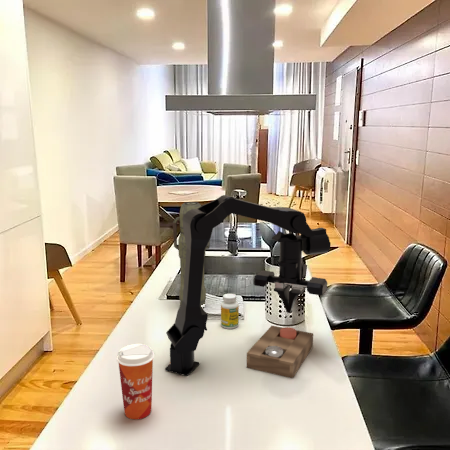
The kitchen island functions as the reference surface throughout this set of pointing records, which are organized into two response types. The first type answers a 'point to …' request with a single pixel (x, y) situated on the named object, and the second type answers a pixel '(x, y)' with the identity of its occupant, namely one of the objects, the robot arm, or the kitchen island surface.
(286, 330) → the pink round plug
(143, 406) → the paper cup
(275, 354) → the grey plunger
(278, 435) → the kitchen island surface
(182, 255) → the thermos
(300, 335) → the press box
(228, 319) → the supplement bottle
